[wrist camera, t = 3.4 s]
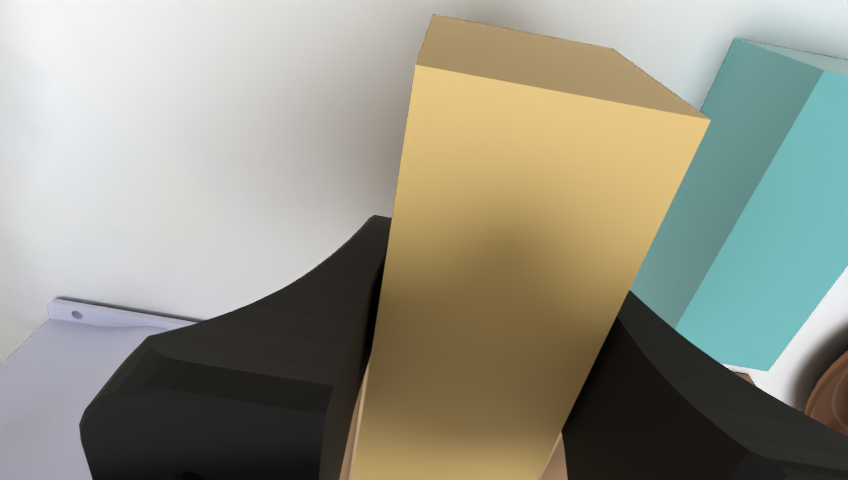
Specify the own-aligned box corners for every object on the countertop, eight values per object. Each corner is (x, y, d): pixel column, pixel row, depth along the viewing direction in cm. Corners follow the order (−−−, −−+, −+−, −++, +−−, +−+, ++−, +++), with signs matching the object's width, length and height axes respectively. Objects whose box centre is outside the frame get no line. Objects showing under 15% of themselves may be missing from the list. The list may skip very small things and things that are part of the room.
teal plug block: (612, 294, 23) (647, 375, 18) (732, 36, 17) (824, 69, 13) (696, 308, 23) (750, 393, 19) (844, 59, 17) (972, 99, 13)
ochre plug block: (374, 375, 17) (344, 526, 12) (432, 14, 11) (415, 64, 6) (492, 394, 17) (503, 551, 12) (613, 49, 11) (710, 120, 7)
